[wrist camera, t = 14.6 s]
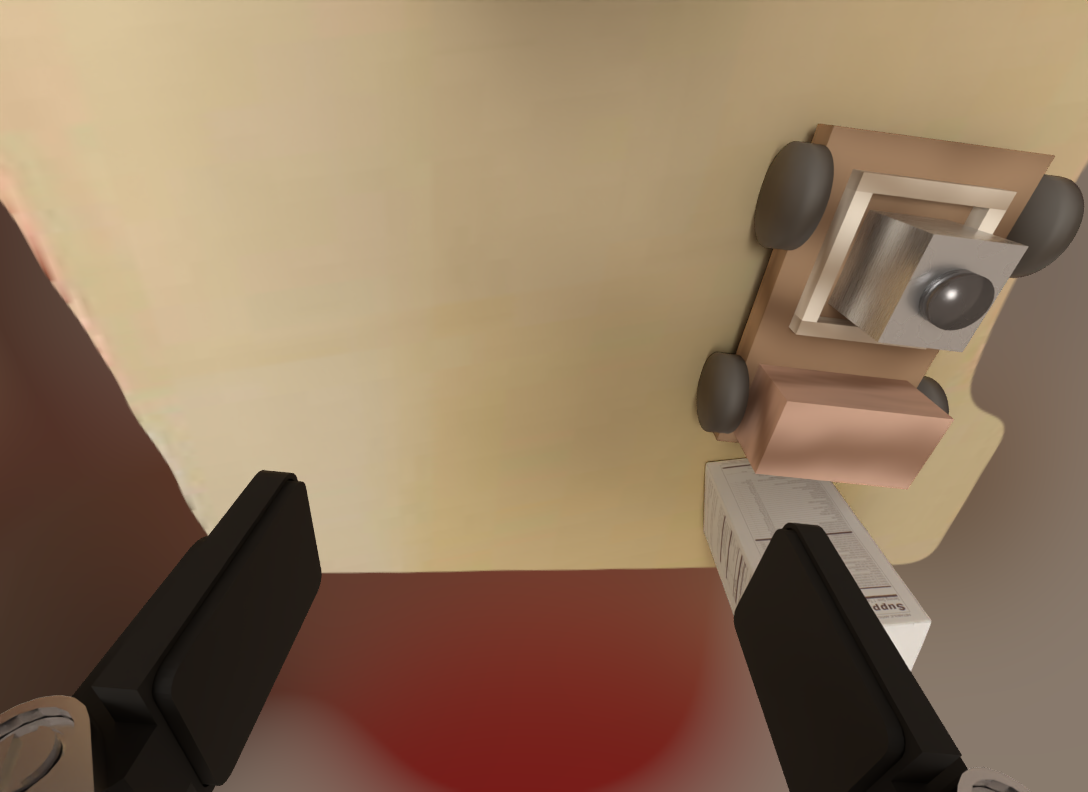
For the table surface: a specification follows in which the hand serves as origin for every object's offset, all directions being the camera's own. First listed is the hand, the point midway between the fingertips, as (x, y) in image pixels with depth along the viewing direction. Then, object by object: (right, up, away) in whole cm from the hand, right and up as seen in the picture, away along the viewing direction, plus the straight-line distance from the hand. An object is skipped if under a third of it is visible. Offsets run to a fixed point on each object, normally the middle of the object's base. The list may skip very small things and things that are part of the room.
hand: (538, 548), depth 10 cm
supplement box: (+20, -6, +37) cm, 42 cm away
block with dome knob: (+22, +12, +22) cm, 33 cm away
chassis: (+22, +10, +27) cm, 36 cm away
